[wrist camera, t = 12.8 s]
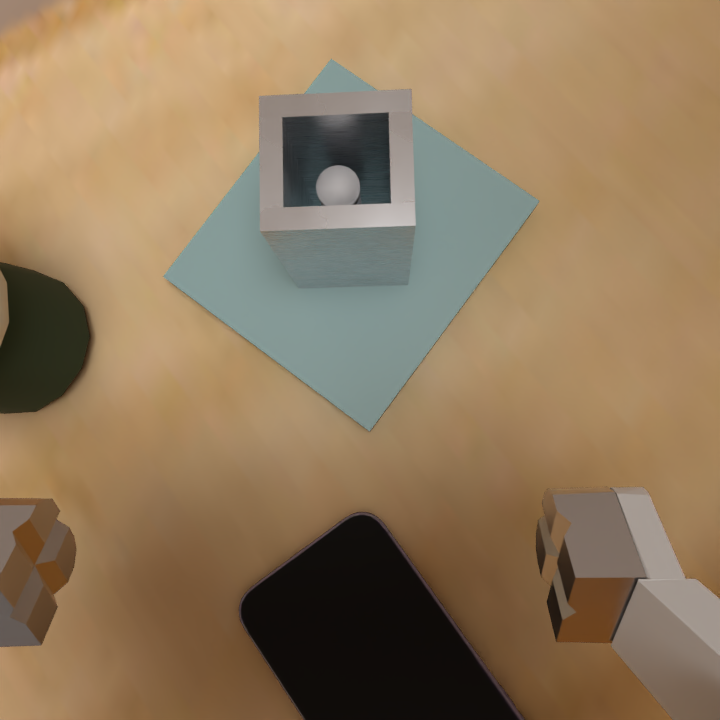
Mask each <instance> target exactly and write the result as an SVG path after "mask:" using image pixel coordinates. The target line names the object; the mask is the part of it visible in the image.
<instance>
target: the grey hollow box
mask: <svg viewBox="0 0 720 720" xmlns="http://www.w3.org/2000/svg"><path fill="white" fill-rule="evenodd" d="M259 161H260V232H261V234H262V235H263V236H264V238H265V239H266V241H267V242H268V244H269V245H270V247H271V248H272V250H273V251H274V253H275V254H276V256H277V257H278V258H279V260H280V261H281V263H282V264H283V266H284V267H285V269H286V270H287V272H288V273H289V275H290V276H291V278H292V279H293V280H294V282H295V283H296V285H297V286H298V288H299V289H301V288H333V287H364V286H395V285H408V283H409V275H410V267H411V259H412V251H413V243H414V235H415V227H416V218H415V186H414V155H413V123H412V91H411V89H401V90H379V91H358V92H336V93H315V94H293V95H271V96H259ZM335 165H341V166H346V167H348V168H350V169H351V170H353V171H354V172H355V174H356V175H357V177H358V179H359V183H360V195H361V203H362V204H359V205H333V206H322V205H321V202H320V200H319V197H318V194H317V191H316V183H317V180H318V177H319V176H320V174H321V173H322V172H323V171H324V170H325V169H327V168H329V167H331V166H335Z"/></svg>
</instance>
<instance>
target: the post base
mask: <svg viewBox="0 0 720 720" xmlns="http://www.w3.org/2000/svg"><path fill="white" fill-rule="evenodd" d="M358 91H378V90H376V89H375V88H373V87H372V86H370V85H369V84H367V83H366V82H364V81H363V80H361V79H360V78H359V77H357V76H356V75H354V74H353V73H351V72H350V71H348V70H347V69H345V68H344V67H342V66H341V65H339V64H338V63H337V62H335V61H334V60H332V59H331V60H330V61H329V62H328V64H327V65H326V66H325V67H324V69H323V70H322V71H321V73H320V74H319V75H318V77H317V78H316V79H315V80H314V82H313V83H312V84H311V86H310V87H309V88H308V90H307V91H306V92H305V93H304V94H315V93H336V92H358ZM412 123H413V155H414V186H415V218H416V227H415V235H414V243H413V251H412V259H411V267H410V275H409V283H408V285H395V286H364V287H333V288H301V289H299V288H298V286H297V285H296V283H295V282H294V280H293V279H292V278H291V276H290V275H289V273H288V272H287V270H286V269H285V267H284V266H283V264H282V263H281V261H280V260H279V258H278V257H277V256H276V254H275V253H274V251H273V250H272V248H271V247H270V245H269V244H268V242H267V241H266V239H265V238H264V236H263V235H262V234H261V232H260V161H259V153H258V154H257V156H256V157H255V158H254V159H253V161H252V162H251V163H250V165H249V166H248V167H247V169H246V170H245V171H244V172H243V174H242V175H241V176H240V178H239V179H238V180H237V181H236V183H235V184H234V185H233V187H232V188H231V189H230V191H229V192H228V193H227V194H226V196H225V197H224V198H223V200H222V201H221V202H220V204H219V205H218V206H217V207H216V209H215V210H214V211H213V213H212V214H211V215H210V216H209V218H208V219H207V220H206V222H205V223H204V224H203V226H202V227H201V228H200V229H199V231H198V232H197V233H196V235H195V236H194V237H193V239H192V240H191V241H190V242H189V244H188V245H187V246H186V248H185V249H184V250H183V251H182V253H181V254H180V255H179V257H178V258H177V259H176V261H175V262H174V263H173V264H172V266H171V267H170V268H169V270H168V271H167V272H166V273H165V275H164V276H163V277H164V278H166V279H167V280H168V281H170V282H171V283H172V284H174V285H175V286H176V287H178V288H179V289H180V290H182V291H183V292H184V293H186V294H187V295H188V296H190V297H191V298H192V299H194V300H195V301H196V302H198V303H199V304H200V305H202V306H203V307H204V308H206V309H207V310H208V311H210V312H211V313H212V314H214V315H215V316H216V317H218V318H219V319H220V320H222V321H223V322H224V323H226V324H227V325H228V326H230V327H231V328H232V329H234V330H235V331H236V332H238V333H239V334H240V335H242V336H243V337H244V338H246V339H247V340H248V341H250V342H251V343H252V344H254V345H255V346H256V347H258V348H259V349H260V350H262V351H263V352H264V353H266V354H267V355H268V356H270V357H271V358H272V359H274V360H275V361H276V362H278V363H279V364H280V365H282V366H283V367H284V368H286V369H287V370H288V371H290V372H291V373H292V374H294V375H295V376H296V377H298V378H299V379H300V380H302V381H303V382H304V383H306V384H307V385H308V386H310V387H311V388H312V389H314V390H315V391H316V392H318V393H319V394H320V395H322V396H323V397H324V398H326V399H327V400H328V401H330V402H331V403H332V404H334V405H335V406H336V407H338V408H339V409H340V410H342V411H343V412H344V413H346V414H347V415H348V416H350V417H351V418H352V419H354V420H355V421H356V422H358V423H359V424H360V425H362V426H363V427H364V428H366V429H367V430H368V431H371V429H372V428H373V427H374V425H375V424H376V423H377V421H378V420H379V419H380V417H381V416H382V414H383V413H384V412H385V410H386V409H387V408H388V406H389V405H390V404H391V402H392V401H393V400H394V398H395V397H396V396H397V394H398V393H399V391H400V390H401V389H402V387H403V386H404V385H405V383H406V382H407V381H408V379H409V378H410V377H411V375H412V374H413V373H414V371H415V370H416V368H417V367H418V366H419V364H420V363H421V362H422V360H423V359H424V358H425V356H426V355H427V354H428V352H429V351H430V350H431V348H432V347H433V345H434V344H435V343H436V341H437V340H438V339H439V337H440V336H441V335H442V333H443V332H444V331H445V329H446V328H447V327H448V325H449V324H450V322H451V321H452V320H453V318H454V317H455V316H456V314H457V313H458V312H459V310H460V309H461V308H462V306H463V305H464V304H465V302H466V301H467V299H468V298H469V297H470V295H471V294H472V293H473V291H474V290H475V289H476V287H477V286H478V285H479V283H480V282H481V281H482V279H483V278H484V276H485V275H486V274H487V272H488V271H489V270H490V268H491V267H492V266H493V264H494V263H495V262H496V260H497V259H498V258H499V256H500V255H501V253H502V252H503V251H504V249H505V248H506V247H507V245H508V244H509V243H510V241H511V240H512V239H513V237H514V236H515V235H516V233H517V232H518V230H519V229H520V228H521V226H522V225H523V224H524V222H525V221H526V220H527V218H528V217H529V216H530V214H531V213H532V212H533V210H534V209H535V207H536V206H537V204H538V203H539V200H537V199H536V198H534V197H533V196H531V195H530V194H528V193H527V192H526V191H524V190H523V189H521V188H520V187H518V186H517V185H515V184H514V183H512V182H511V181H509V180H508V179H506V178H505V177H504V176H502V175H501V174H499V173H498V172H496V171H495V170H493V169H492V168H490V167H489V166H487V165H486V164H484V163H483V162H482V161H480V160H479V159H477V158H476V157H474V156H473V155H471V154H470V153H468V152H467V151H465V150H464V149H463V148H461V147H460V146H458V145H457V144H455V143H454V142H452V141H451V140H449V139H448V138H446V137H445V136H443V135H442V134H441V133H439V132H438V131H436V130H435V129H433V128H432V127H430V126H429V125H427V124H426V123H424V122H423V121H422V120H420V119H419V118H417V117H416V116H414V115H413V114H412ZM316 191H317V194H318V197H319V200H320V202H321V205H322V206H333V205H359V204H362V203H361V195H360V183H359V179H358V177H357V175H356V174H355V172H354V171H353V170H351V169H350V168H348V167H346V166H341V165H335V166H331V167H329V168H327V169H325V170H324V171H323V172H322V173H321V174H320V176H319V177H318V180H317V183H316Z"/></svg>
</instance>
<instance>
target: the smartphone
mask: <svg viewBox="0 0 720 720" xmlns="http://www.w3.org/2000/svg"><path fill="white" fill-rule="evenodd" d="M306 549H307V550H306ZM302 552H303V553H302ZM298 555H299V556H298ZM239 616H240V621H241V623H242V625H243V627H244V629H245V630H246V632H247V634H248V635H249V637H250V638H251V640H252V641H253V643H254V644H255V646H256V647H257V649H258V650H259V652H260V653H261V655H262V657H263V658H264V660H265V661H266V663H267V664H268V666H269V667H270V669H271V670H272V672H273V673H274V675H275V676H276V678H277V680H278V681H279V683H280V684H281V686H282V687H283V689H284V690H285V692H286V693H287V695H288V696H289V698H290V699H291V701H292V703H293V704H294V706H295V707H296V709H297V710H298V712H299V713H300V715H301V716H302V718H303V719H304V720H525V719H524V717H523V716H522V715H521V714H520V713H519V711H518V710H517V709H516V706H515V705H514V703H513V702H512V700H511V699H510V698H509V696H508V695H507V693H506V692H505V691H504V689H503V688H502V686H501V685H499V683H498V682H497V681H496V679H495V678H494V676H493V675H492V674H491V672H490V671H489V669H488V668H487V667H486V665H485V664H484V662H483V661H482V660H481V658H480V657H479V656H478V654H477V653H476V651H475V650H474V649H473V647H472V646H471V644H470V643H469V642H468V640H467V639H466V637H465V636H464V635H463V633H462V632H461V630H460V629H459V628H458V626H457V625H456V623H455V622H454V620H453V619H452V618H451V616H450V615H449V613H448V612H447V611H446V609H445V608H444V606H443V605H442V604H441V602H440V601H439V599H438V598H437V597H436V595H435V594H434V592H433V591H432V590H431V588H430V587H429V585H428V584H427V583H426V581H425V580H424V578H423V577H422V576H421V574H420V573H419V571H418V570H417V569H416V567H415V566H414V565H413V563H412V562H411V560H410V559H409V558H408V556H407V555H406V553H405V552H404V551H403V549H402V548H401V546H400V545H399V544H398V542H397V541H396V539H395V538H394V537H393V535H392V534H391V532H390V531H389V530H388V528H387V527H386V525H385V524H384V523H383V522H382V521H381V520H380V519H379V518H378V517H377V516H375V515H373V514H371V513H367V512H357V513H354V514H351V515H349V516H348V517H346V518H345V519H343V520H342V521H340V522H339V523H337V524H336V525H335V526H333V527H332V528H331V529H329V530H328V531H327V532H325V533H324V534H323V535H321V536H320V537H318V538H317V539H316V540H314V541H313V542H312V543H310V544H309V545H308V546H306V547H305V548H304V549H302V550H301V551H299V552H298V553H297V554H295V555H294V556H293V557H291V558H290V559H289V560H287V561H286V562H285V563H283V564H282V565H281V566H279V567H278V568H276V569H275V570H274V571H272V572H271V573H270V574H268V575H267V576H266V577H264V578H263V579H262V580H260V581H259V582H258V583H256V584H255V585H253V586H252V587H251V588H250V589H249V590H248V591H247V592H246V593H245V594H244V596H243V597H242V599H241V602H240V605H239Z"/></svg>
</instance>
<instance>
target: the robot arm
mask: <svg viewBox="0 0 720 720" xmlns="http://www.w3.org/2000/svg"><path fill="white" fill-rule="evenodd" d="M542 506H543V510H544V514H545V515H544V516H543V517H542V518H540V519H539V520H538V525H537V531H536V552H537V559H538V565H539V569H540V574H541V577H542V578H543V579H544V580H545V581H546V582H547V583H548V584H549V585H550V586H551V588H550V592H549V596H548V600H547V605H548V609H549V613H550V617H551V622H552V626H553V630H554V634H555V639H556V642H581V643H612V644H611V647H612V648H613V649H614V650H615V652H616V653H617V654H618V655H619V656H620V658H621V659H622V660H623V661H624V662H625V663H626V665H627V666H628V667H629V668H630V669H631V671H632V672H633V673H634V674H635V675H636V677H637V678H638V679H639V680H640V681H641V683H642V684H643V685H644V686H645V687H646V688H647V690H648V691H649V692H650V693H651V694H652V696H653V697H654V698H655V699H656V700H657V702H658V703H659V704H660V705H661V706H662V707H663V709H664V710H665V711H666V712H667V713H668V715H669V716H670V717H671V718H672V719H673V720H720V598H718V597H717V596H716V595H715V594H714V593H712V592H711V591H710V590H709V589H708V588H706V587H705V586H704V585H703V584H702V583H701V582H699V581H698V580H697V579H690V578H686V577H685V575H684V573H683V571H682V568H681V566H680V564H679V561H678V559H677V557H676V554H675V552H674V550H673V547H672V545H671V543H670V541H669V538H668V536H667V534H666V531H665V529H664V527H663V524H662V522H661V520H660V518H659V515H658V513H657V511H656V508H655V506H654V504H653V501H652V499H651V497H650V494H649V492H648V491H647V490H646V489H645V488H644V487H612V488H609V487H585V488H553V489H547V490H546V491H545V493H544V496H543V500H542ZM59 512H60V510H59V508H58V507H57V505H56V504H55V502H54V500H53V499H39V498H0V647H10V646H39V645H42V643H43V641H44V638H45V636H46V633H47V631H48V629H49V626H50V624H51V622H52V619H53V617H54V614H55V612H56V610H57V607H58V606H57V603H56V600H55V597H54V594H55V593H56V592H57V591H58V590H60V589H61V588H62V587H63V586H64V585H65V584H66V583H68V581H69V578H70V576H71V573H72V571H73V568H74V564H75V556H76V543H75V538H74V535H73V533H72V531H71V529H70V528H69V527H68V526H66V525H65V524H63V523H61V522H60V521H58V520H57V517H58V515H59Z"/></svg>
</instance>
